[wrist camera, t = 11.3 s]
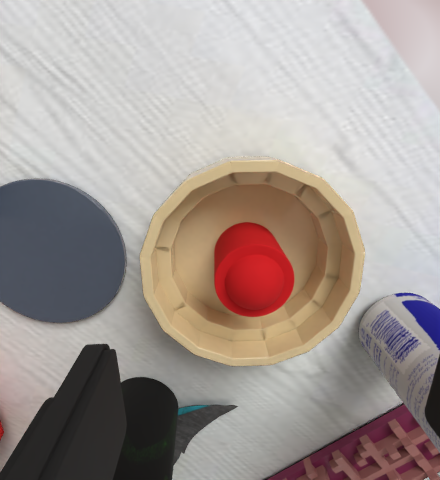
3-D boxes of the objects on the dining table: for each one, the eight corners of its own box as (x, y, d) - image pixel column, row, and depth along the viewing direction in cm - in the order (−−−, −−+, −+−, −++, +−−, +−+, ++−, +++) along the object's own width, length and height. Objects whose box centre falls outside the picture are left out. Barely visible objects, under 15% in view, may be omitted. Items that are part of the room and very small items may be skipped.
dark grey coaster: (-46, 179, 19) (-53, 180, 18) (117, 176, 19) (114, 177, 18) (-6, 320, 22) (-11, 324, 21) (133, 317, 22) (132, 321, 22)
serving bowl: (146, 157, 19) (129, 162, 15) (345, 154, 19) (379, 158, 15) (161, 330, 22) (150, 368, 19) (327, 326, 23) (350, 363, 19)
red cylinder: (213, 222, 19) (213, 253, 14) (279, 221, 20) (303, 251, 14) (214, 282, 21) (215, 331, 15) (276, 281, 21) (298, 329, 15)
